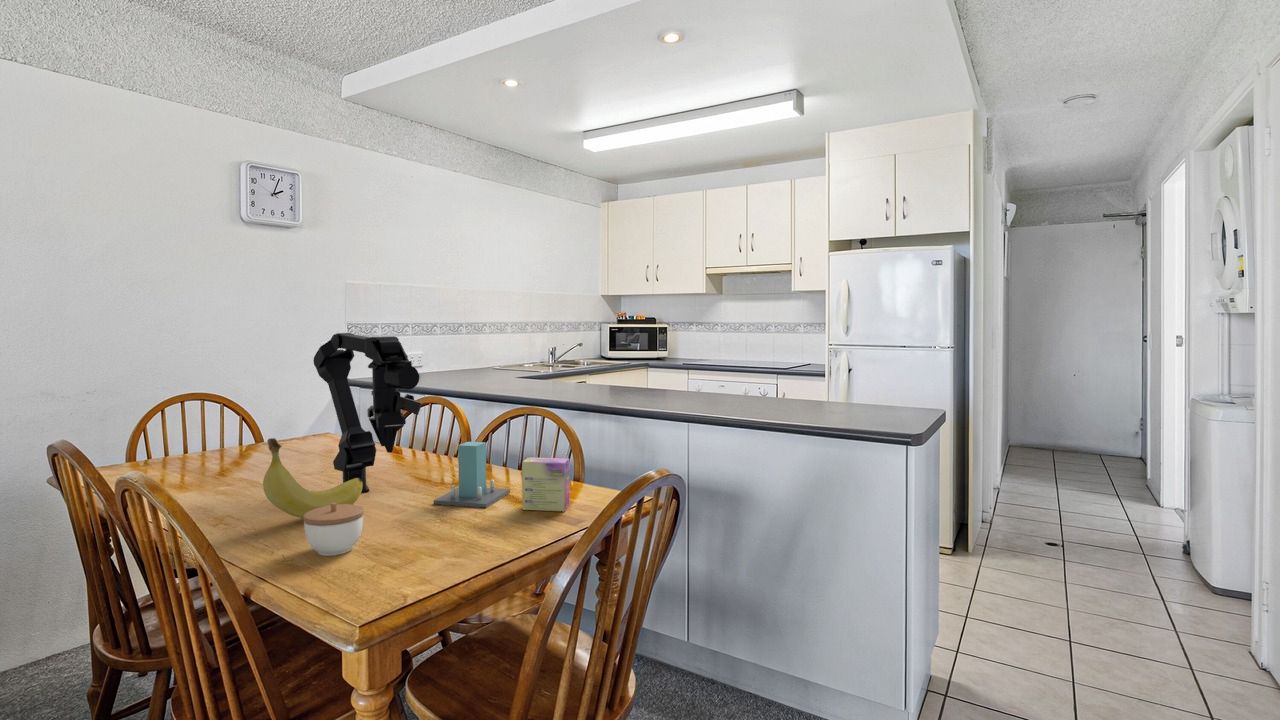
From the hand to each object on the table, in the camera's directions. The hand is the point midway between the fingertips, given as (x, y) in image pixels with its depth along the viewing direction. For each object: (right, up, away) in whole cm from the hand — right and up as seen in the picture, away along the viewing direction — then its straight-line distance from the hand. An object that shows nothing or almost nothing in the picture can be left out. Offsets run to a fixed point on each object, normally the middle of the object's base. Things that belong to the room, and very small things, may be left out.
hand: (386, 449), depth 163 cm
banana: (-10, -14, -14) cm, 22 cm away
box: (+41, -14, -5) cm, 43 cm away
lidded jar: (+3, -16, -34) cm, 38 cm away
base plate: (+21, -13, +3) cm, 25 cm away
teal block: (+21, -12, +3) cm, 24 cm away
